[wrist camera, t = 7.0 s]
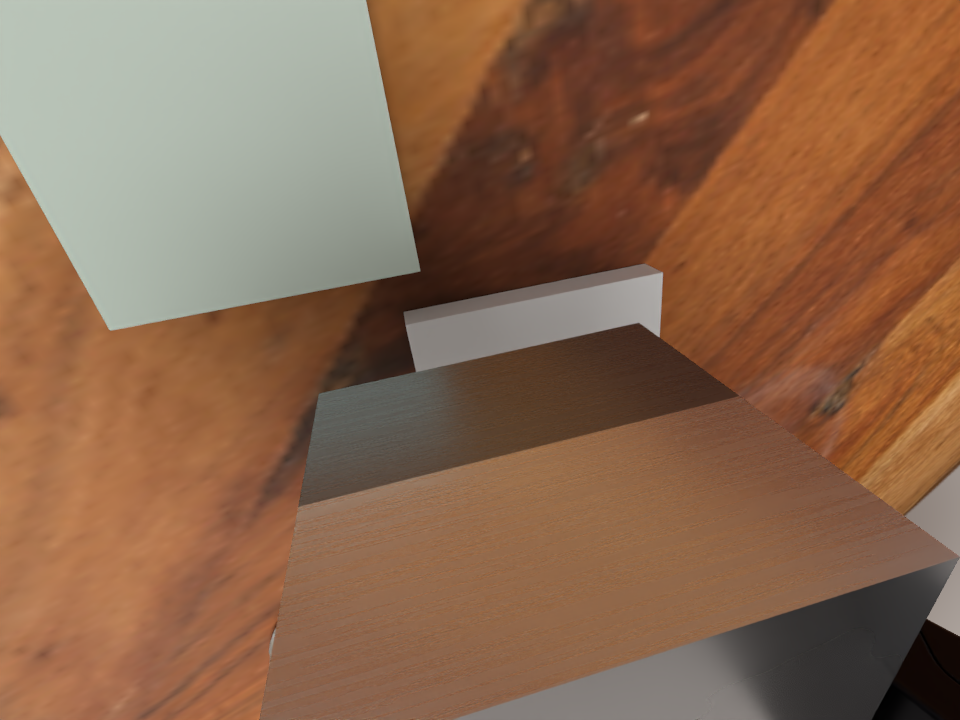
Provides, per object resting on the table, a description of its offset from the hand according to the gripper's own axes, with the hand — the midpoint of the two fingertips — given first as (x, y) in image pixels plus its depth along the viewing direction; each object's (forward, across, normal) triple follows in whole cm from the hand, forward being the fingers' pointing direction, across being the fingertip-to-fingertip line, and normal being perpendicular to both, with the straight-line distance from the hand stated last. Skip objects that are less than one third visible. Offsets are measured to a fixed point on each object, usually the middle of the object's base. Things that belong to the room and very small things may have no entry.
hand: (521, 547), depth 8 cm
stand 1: (+13, +6, -8) cm, 16 cm away
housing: (+1, 0, 0) cm, 1 cm away
